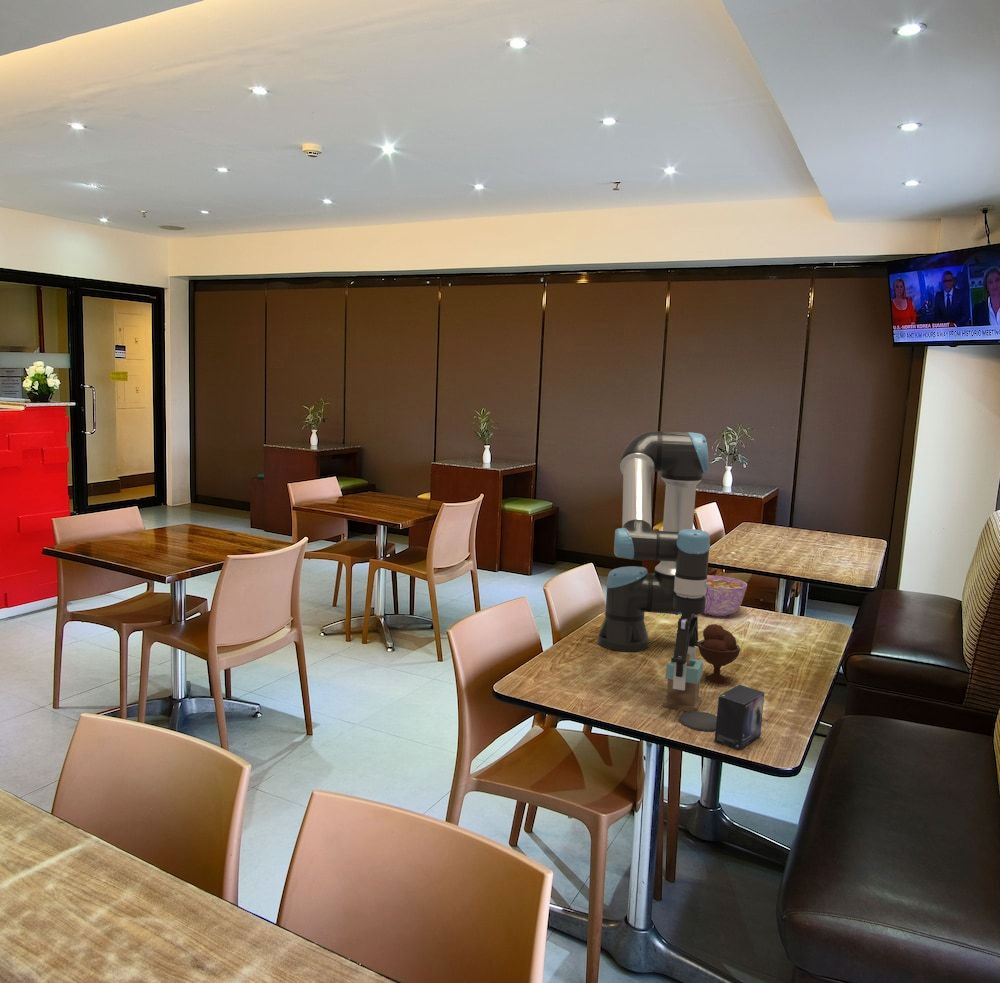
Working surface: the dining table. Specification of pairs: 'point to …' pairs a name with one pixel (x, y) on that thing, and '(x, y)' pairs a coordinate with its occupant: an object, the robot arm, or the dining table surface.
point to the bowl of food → (723, 595)
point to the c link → (687, 671)
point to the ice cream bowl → (718, 650)
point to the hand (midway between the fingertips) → (684, 680)
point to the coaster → (699, 720)
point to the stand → (683, 695)
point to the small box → (739, 716)
